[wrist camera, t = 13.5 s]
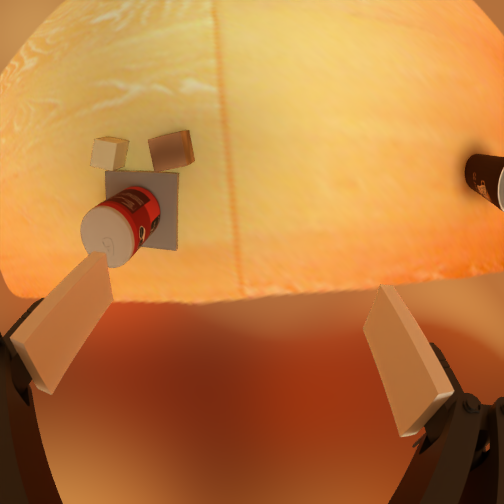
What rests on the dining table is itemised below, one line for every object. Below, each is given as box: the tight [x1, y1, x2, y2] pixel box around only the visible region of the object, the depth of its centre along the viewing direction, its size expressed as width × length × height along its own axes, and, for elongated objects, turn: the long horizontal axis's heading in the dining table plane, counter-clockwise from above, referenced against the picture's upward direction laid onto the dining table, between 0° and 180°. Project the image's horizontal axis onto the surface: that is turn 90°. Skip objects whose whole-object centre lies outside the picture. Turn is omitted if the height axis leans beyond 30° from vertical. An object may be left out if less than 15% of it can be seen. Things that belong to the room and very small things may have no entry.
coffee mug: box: [465, 154, 504, 212], centre depth 31 cm, size 12×9×10 cm
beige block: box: [90, 137, 129, 171], centre depth 36 cm, size 4×4×4 cm
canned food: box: [81, 187, 160, 268], centre depth 36 cm, size 8×8×11 cm
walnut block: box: [148, 130, 195, 173], centre depth 35 cm, size 4×4×4 cm
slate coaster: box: [105, 170, 179, 251], centre depth 41 cm, size 12×12×1 cm
